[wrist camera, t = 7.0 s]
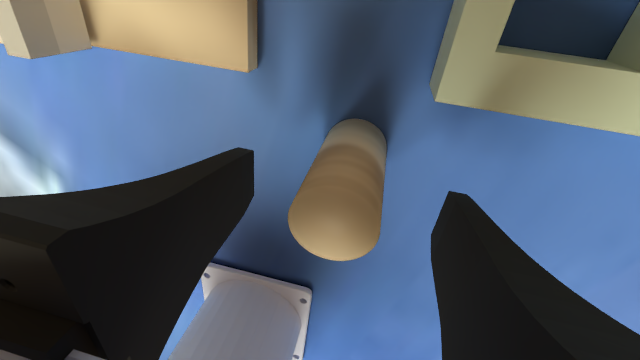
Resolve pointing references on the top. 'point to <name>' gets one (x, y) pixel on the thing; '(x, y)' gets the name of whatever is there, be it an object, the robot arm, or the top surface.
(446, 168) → the top surface
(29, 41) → the lid
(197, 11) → the board
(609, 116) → the socket board
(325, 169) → the peg
